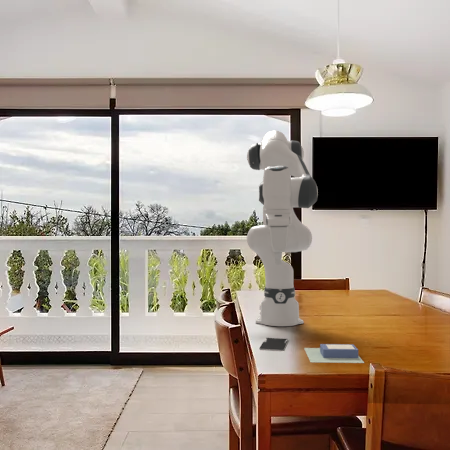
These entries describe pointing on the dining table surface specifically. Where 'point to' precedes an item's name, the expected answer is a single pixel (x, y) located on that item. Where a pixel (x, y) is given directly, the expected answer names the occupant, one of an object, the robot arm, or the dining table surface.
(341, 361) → the mat
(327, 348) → the box
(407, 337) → the dining table surface
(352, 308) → the dining table surface
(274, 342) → the smartphone
